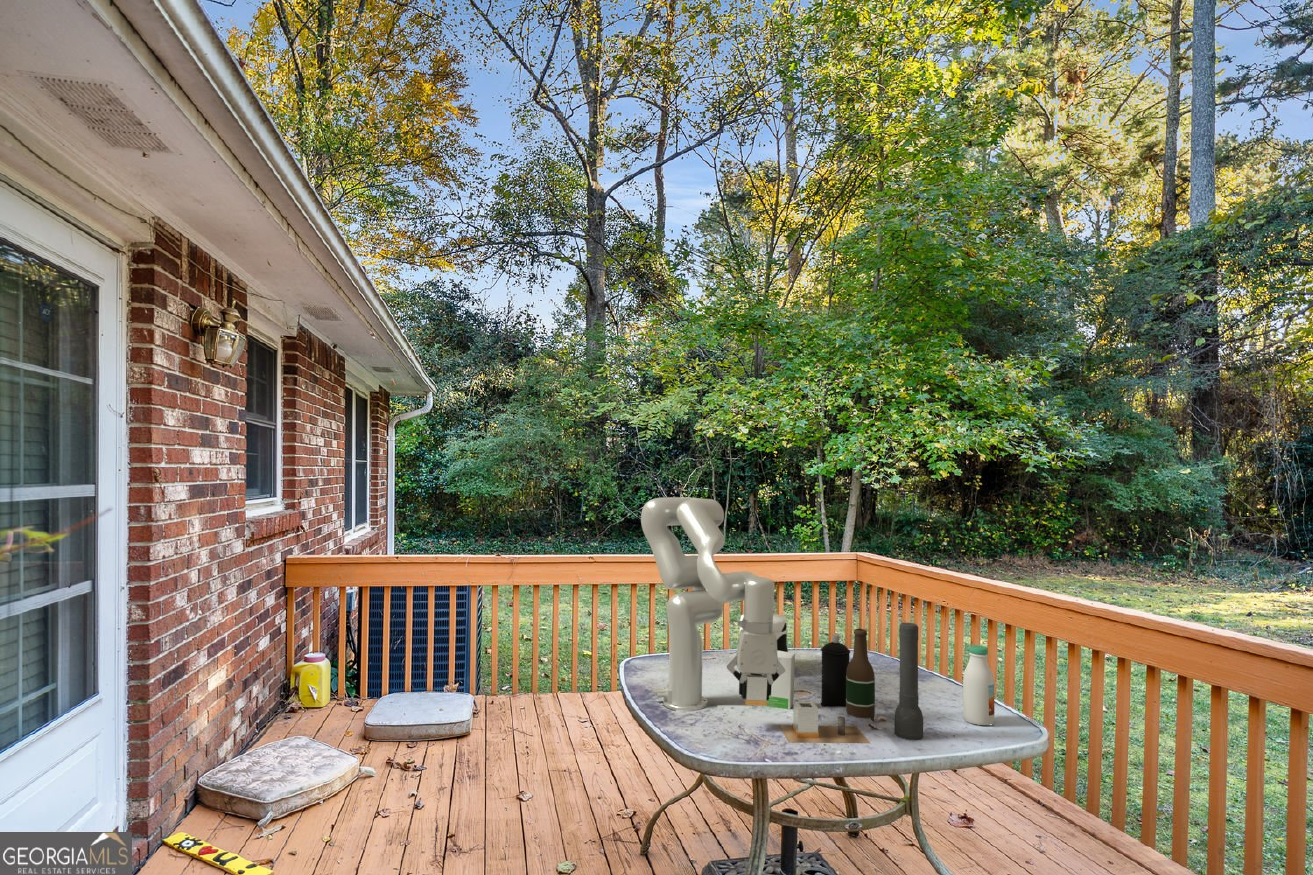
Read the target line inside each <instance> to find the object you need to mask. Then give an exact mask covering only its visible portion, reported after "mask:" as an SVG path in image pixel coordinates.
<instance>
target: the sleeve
mask: <svg viewBox="0 0 1313 875" xmlns="http://www.w3.org/2000/svg"><path fill="white" fill-rule="evenodd" d="M745 683H746V698H745V699H743V701H744V703H745V705H746V706H759V707H760V706H761V707H768V706H767V700H766V697H767V676H766V674H750V673H747V675H746V678H745Z"/></svg>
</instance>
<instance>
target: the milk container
mask: <svg viewBox="0 0 1313 875" xmlns="http://www.w3.org/2000/svg"><path fill="white" fill-rule="evenodd" d="M743 618H744V613H743V614H742V615H740V618H739V619H740V620H739V621H742V620H743ZM787 625H788V624H787V618H786V616H785V615H781V614H777V613H773V632H774V633H775V634H776V639H777V651H784V652H789V649H788V644H787V640H788V630H787ZM742 629H743V628H742V627H739V632H740V631H741V630H742Z"/></svg>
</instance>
